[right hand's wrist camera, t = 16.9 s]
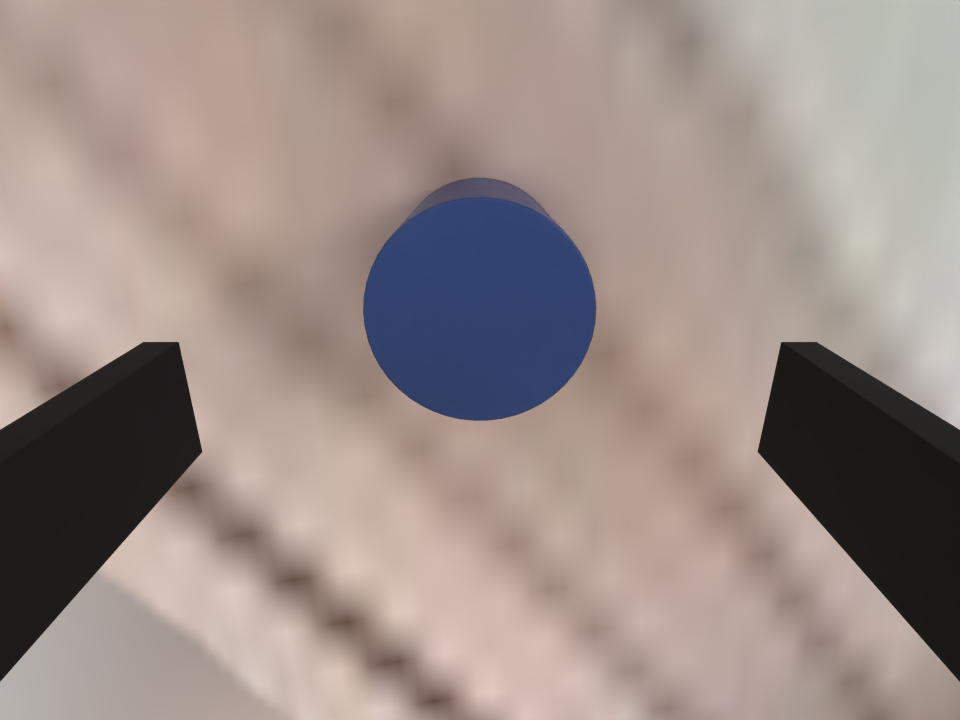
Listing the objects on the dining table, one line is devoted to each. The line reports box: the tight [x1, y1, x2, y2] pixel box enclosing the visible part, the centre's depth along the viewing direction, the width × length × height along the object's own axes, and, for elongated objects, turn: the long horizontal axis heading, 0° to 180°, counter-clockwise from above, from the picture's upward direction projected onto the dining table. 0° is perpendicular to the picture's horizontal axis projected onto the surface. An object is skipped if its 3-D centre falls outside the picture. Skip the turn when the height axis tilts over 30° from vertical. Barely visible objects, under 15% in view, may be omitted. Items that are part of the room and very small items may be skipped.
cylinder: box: [363, 178, 596, 421], centre depth 22 cm, size 8×8×9 cm
